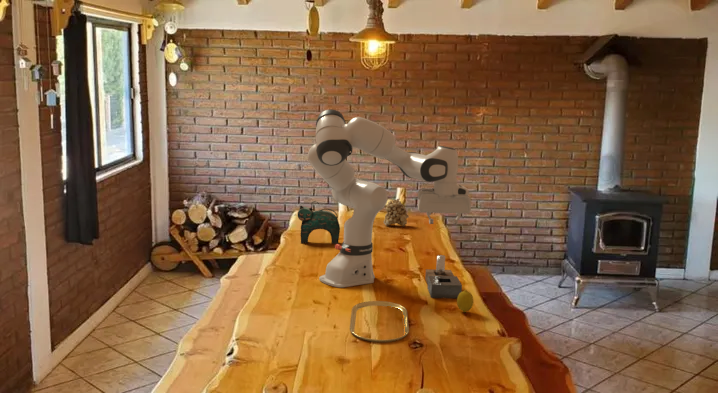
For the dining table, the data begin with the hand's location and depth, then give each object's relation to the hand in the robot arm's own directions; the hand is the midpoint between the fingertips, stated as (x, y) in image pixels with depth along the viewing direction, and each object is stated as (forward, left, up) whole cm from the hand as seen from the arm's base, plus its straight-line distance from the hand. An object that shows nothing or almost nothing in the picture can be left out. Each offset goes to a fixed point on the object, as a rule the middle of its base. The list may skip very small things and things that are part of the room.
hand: (443, 223), depth 264 cm
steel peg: (-1, 0, -24) cm, 24 cm away
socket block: (-1, 0, -24) cm, 24 cm away
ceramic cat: (-1, +76, -24) cm, 79 cm away
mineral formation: (+54, +80, -24) cm, 99 cm away
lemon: (-18, -27, -24) cm, 41 cm away
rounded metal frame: (-48, -16, -24) cm, 56 cm away
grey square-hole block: (-9, -10, -24) cm, 27 cm away
